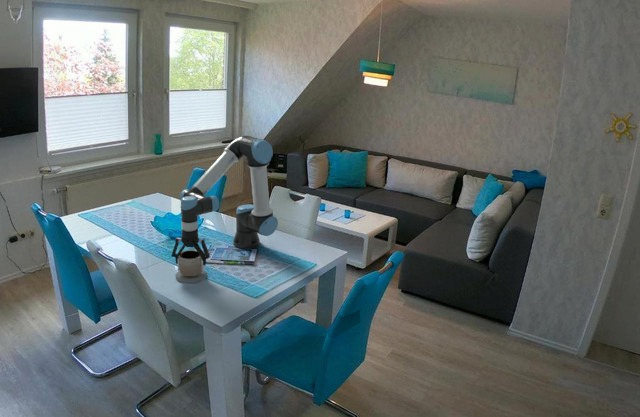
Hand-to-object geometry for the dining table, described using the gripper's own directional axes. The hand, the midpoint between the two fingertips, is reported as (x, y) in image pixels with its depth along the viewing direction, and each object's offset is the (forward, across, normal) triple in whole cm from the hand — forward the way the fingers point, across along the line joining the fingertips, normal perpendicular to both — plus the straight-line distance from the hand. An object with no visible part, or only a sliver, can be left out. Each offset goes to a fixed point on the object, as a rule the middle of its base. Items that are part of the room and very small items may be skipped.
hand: (191, 270), depth 246 cm
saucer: (+3, 0, 0) cm, 3 cm away
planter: (+1, 0, 0) cm, 1 cm away
